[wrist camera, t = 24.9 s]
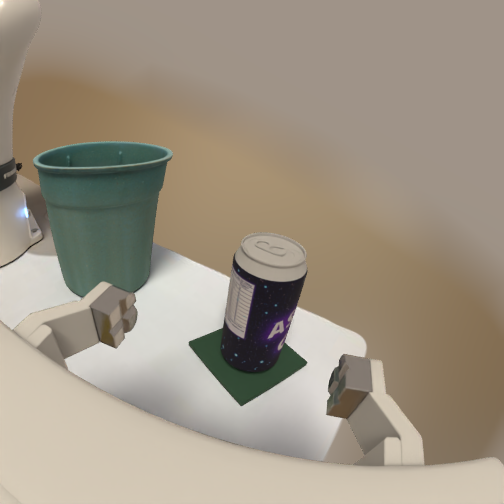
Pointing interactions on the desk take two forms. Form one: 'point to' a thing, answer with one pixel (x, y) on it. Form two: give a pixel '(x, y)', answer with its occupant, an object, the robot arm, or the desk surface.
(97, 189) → the flower pot
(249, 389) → the mat
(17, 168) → the loader
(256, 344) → the beverage can
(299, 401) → the desk surface
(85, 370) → the desk surface
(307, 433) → the desk surface
